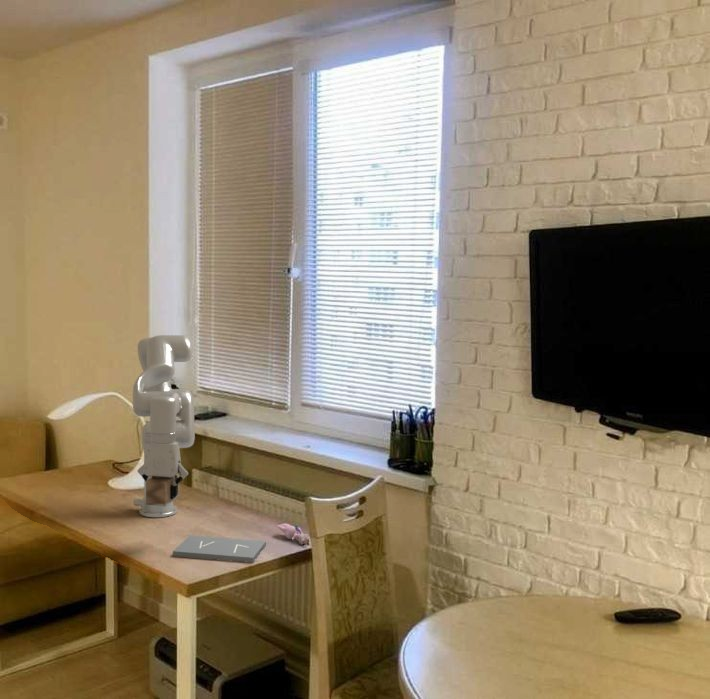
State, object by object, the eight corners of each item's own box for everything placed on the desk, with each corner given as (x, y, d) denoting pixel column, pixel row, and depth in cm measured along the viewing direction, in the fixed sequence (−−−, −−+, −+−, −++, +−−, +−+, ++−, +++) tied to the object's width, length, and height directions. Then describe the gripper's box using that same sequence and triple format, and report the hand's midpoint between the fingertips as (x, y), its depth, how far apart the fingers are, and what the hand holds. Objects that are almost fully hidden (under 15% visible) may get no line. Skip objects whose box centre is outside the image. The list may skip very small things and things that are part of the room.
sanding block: (145, 504, 227) (146, 481, 227) (160, 494, 237) (160, 472, 237) (165, 506, 226) (165, 482, 226) (178, 496, 236) (179, 474, 236)
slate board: (172, 556, 225) (172, 551, 225) (189, 540, 239) (189, 535, 239) (253, 562, 222) (253, 557, 222) (265, 546, 236) (265, 541, 236)
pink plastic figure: (316, 547, 240) (285, 528, 250) (318, 529, 238) (287, 510, 248) (301, 552, 235) (269, 532, 245) (303, 534, 234) (272, 514, 244)
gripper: (129, 438, 227) (129, 498, 229) (186, 442, 225) (186, 502, 227) (140, 433, 235) (140, 491, 237) (195, 436, 232) (194, 495, 234)
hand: (162, 496), depth 232 cm, fingers closed on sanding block, 6 cm apart
